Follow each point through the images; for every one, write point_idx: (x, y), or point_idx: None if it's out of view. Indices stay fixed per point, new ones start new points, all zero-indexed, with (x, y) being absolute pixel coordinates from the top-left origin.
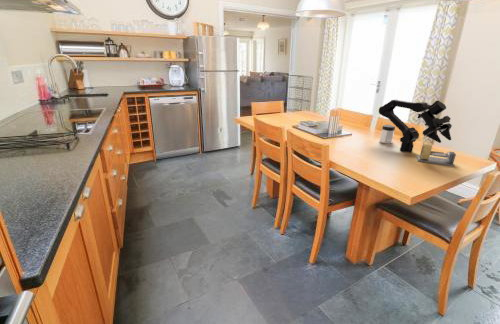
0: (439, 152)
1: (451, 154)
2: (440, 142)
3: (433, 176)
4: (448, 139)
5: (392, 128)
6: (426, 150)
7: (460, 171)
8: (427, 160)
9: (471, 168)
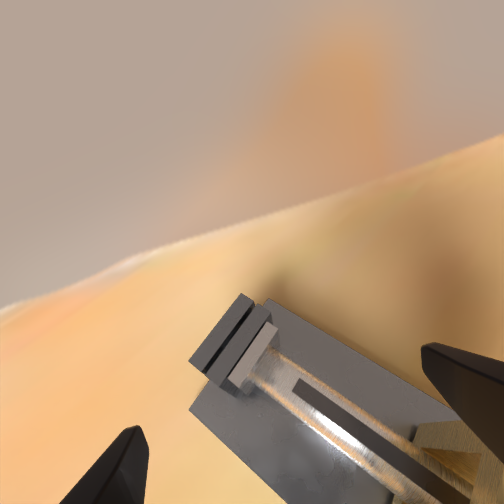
0: (335, 403)
1: (267, 312)
2: (429, 353)
3: (496, 197)
4: (143, 483)
5: None
6: None
7: (292, 238)
8: (428, 421)
9: (189, 267)
